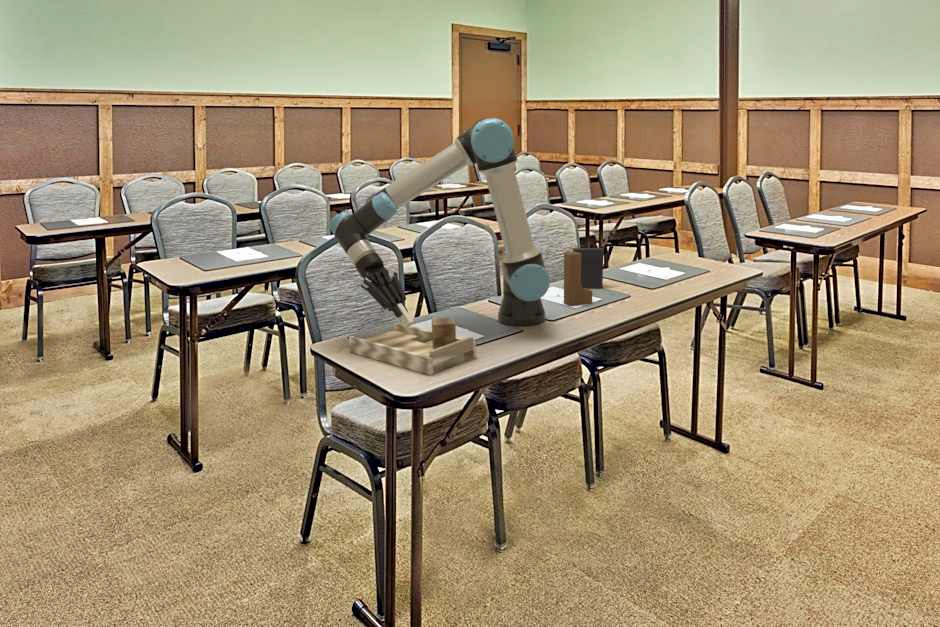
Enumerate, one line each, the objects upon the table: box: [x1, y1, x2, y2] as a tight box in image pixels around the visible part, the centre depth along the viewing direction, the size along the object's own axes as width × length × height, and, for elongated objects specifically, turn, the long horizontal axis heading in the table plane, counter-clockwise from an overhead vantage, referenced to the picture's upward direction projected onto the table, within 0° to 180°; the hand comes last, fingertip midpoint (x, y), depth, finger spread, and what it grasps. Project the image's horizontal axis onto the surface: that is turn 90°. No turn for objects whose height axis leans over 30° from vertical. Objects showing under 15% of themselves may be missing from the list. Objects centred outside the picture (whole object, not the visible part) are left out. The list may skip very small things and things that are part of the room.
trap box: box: [348, 322, 478, 376], centre depth 214 cm, size 32×18×6 cm, turn 49°
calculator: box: [572, 247, 604, 290], centre depth 285 cm, size 11×4×15 cm, turn 86°
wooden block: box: [563, 251, 593, 307], centre depth 263 cm, size 9×4×18 cm, turn 109°
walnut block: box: [431, 317, 457, 350], centre depth 209 cm, size 6×6×8 cm
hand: (409, 324), depth 213 cm, fingers closed
